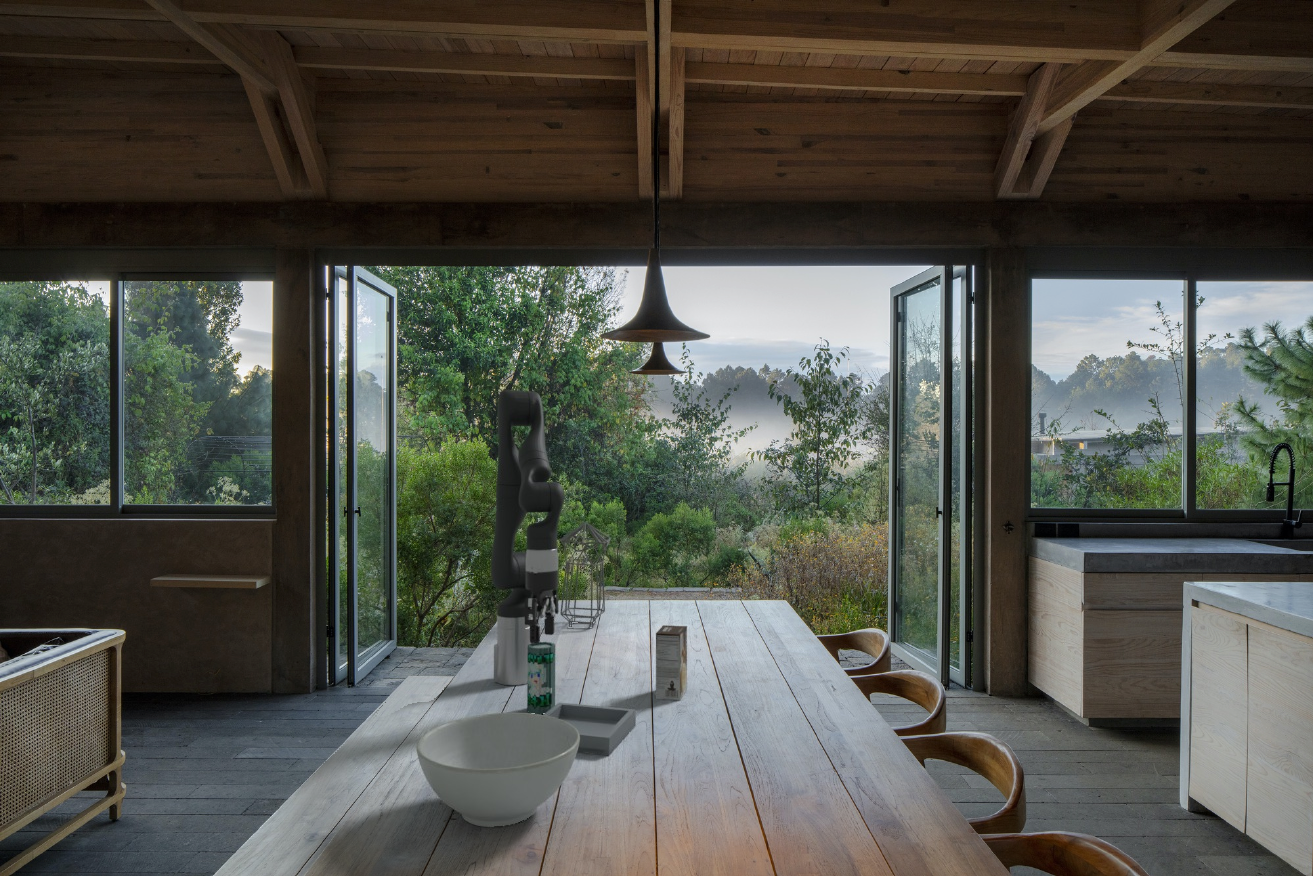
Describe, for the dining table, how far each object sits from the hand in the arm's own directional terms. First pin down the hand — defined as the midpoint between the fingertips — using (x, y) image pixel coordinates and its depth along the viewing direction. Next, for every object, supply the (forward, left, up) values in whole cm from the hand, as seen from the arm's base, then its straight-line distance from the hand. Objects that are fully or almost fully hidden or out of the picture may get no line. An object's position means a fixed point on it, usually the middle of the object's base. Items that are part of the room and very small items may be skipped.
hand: (542, 638), depth 189 cm
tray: (+15, -13, -17) cm, 26 cm away
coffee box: (+26, +20, -17) cm, 37 cm away
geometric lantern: (-21, +86, -17) cm, 90 cm away
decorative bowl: (+14, -50, -17) cm, 55 cm away
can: (0, 0, -17) cm, 17 cm away
